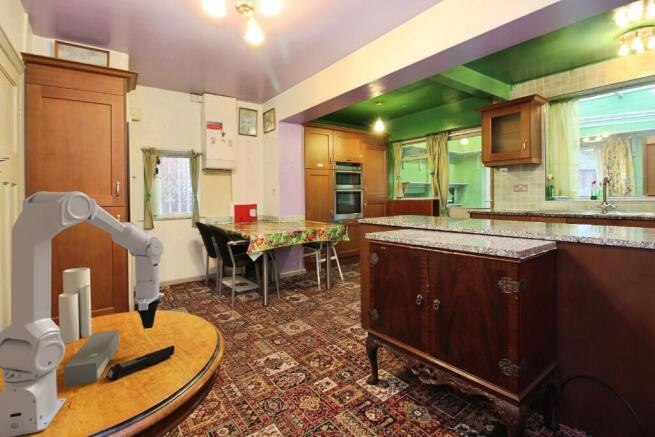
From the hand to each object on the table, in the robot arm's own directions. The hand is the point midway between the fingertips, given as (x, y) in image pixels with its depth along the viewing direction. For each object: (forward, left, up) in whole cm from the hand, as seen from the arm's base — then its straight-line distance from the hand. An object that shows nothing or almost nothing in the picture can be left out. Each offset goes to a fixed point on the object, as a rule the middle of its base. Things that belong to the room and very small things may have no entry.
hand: (148, 327), depth 88 cm
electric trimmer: (-10, 0, -7) cm, 12 cm away
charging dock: (-4, +11, -6) cm, 14 cm away
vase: (+18, +22, -7) cm, 29 cm away
